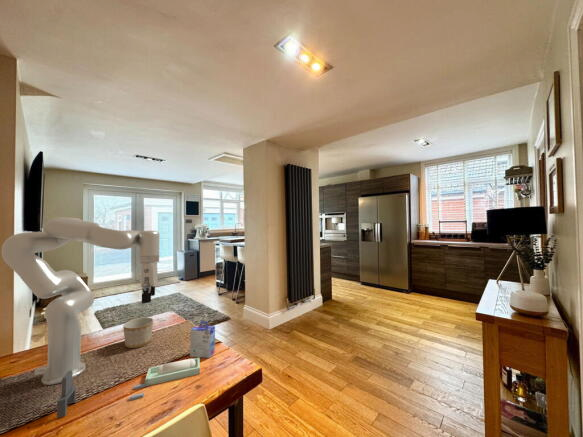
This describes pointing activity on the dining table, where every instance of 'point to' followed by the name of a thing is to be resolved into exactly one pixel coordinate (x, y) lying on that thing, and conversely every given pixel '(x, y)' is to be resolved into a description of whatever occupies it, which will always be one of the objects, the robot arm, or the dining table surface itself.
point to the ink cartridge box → (202, 341)
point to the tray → (170, 374)
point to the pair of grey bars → (138, 394)
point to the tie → (66, 395)
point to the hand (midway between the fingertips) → (148, 299)
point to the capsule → (175, 366)
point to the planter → (138, 332)
